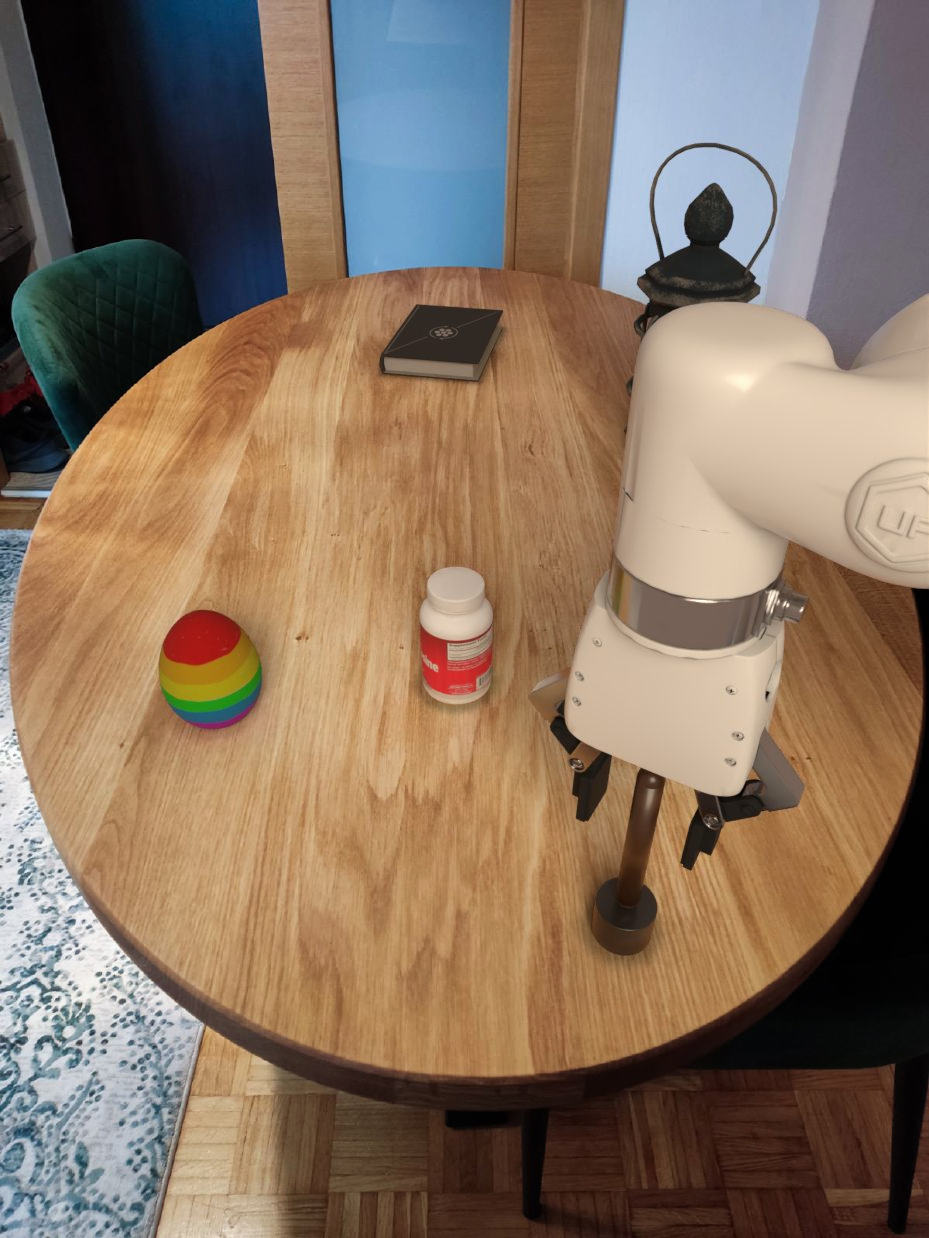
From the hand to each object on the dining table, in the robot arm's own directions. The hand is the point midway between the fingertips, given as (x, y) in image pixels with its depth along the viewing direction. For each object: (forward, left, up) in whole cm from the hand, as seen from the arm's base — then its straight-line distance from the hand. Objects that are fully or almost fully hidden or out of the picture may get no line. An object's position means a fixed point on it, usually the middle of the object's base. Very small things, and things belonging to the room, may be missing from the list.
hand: (641, 825), depth 52 cm
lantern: (+21, -66, -11) cm, 70 cm away
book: (+63, -79, -11) cm, 102 cm away
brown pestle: (0, 0, -11) cm, 11 cm away
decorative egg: (+38, -2, -11) cm, 40 cm away
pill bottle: (+22, -15, -11) cm, 29 cm away
